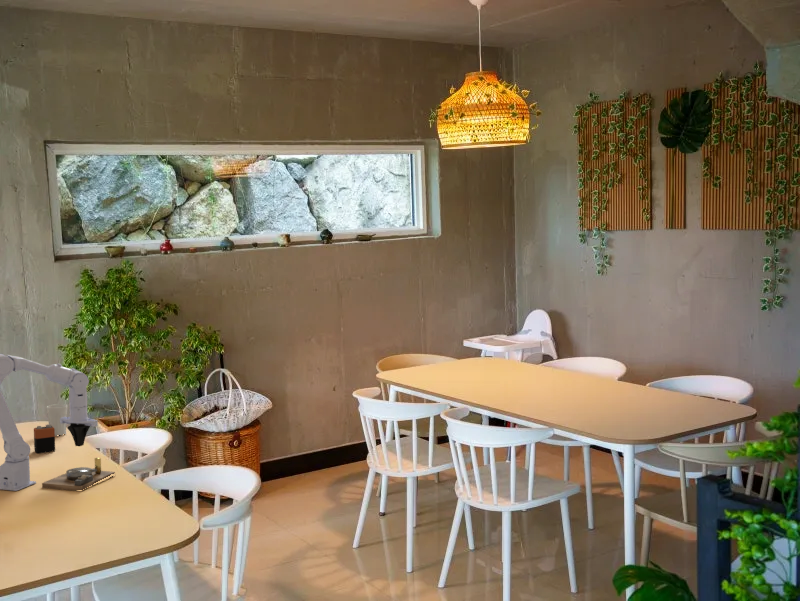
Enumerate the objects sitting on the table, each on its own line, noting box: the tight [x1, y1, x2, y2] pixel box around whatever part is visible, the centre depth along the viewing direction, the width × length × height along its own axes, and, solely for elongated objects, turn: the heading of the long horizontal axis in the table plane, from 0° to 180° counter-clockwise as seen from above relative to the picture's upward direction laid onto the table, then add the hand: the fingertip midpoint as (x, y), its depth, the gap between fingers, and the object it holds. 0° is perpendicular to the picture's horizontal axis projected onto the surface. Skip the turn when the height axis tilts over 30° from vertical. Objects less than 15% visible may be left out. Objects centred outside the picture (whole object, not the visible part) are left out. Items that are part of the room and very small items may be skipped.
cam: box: [66, 457, 102, 480], centre depth 288 cm, size 12×8×5 cm
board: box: [41, 470, 116, 491], centre depth 287 cm, size 18×15×4 cm
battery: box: [33, 423, 56, 454], centre depth 327 cm, size 4×7×10 cm, turn 123°
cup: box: [46, 403, 68, 437], centre depth 353 cm, size 8×8×12 cm
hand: (79, 445), depth 294 cm, fingers closed
